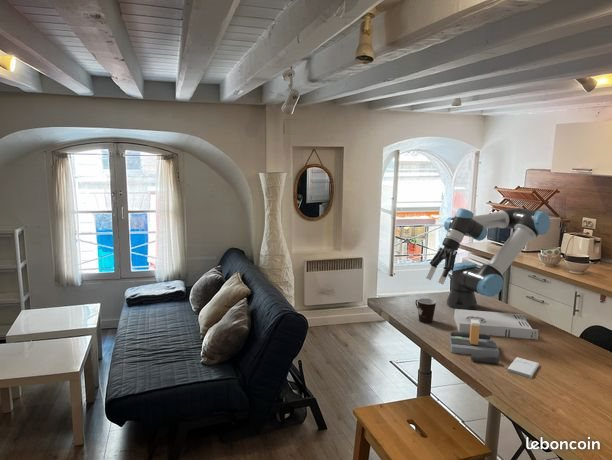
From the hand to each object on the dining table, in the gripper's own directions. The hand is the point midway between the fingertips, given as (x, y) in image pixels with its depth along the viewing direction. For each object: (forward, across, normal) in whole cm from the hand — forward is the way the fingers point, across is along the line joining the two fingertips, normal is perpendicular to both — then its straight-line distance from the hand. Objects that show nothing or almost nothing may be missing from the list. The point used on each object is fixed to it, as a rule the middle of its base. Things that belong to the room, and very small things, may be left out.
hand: (433, 281), depth 207 cm
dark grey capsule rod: (+22, +37, +16) cm, 46 cm away
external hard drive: (+18, +43, +27) cm, 54 cm away
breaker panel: (+20, +26, +16) cm, 36 cm away
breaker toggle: (+17, +26, +15) cm, 34 cm away
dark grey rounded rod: (+17, +16, +19) cm, 30 cm away
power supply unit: (+8, +5, +34) cm, 35 cm away
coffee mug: (+19, -7, +8) cm, 21 cm away
